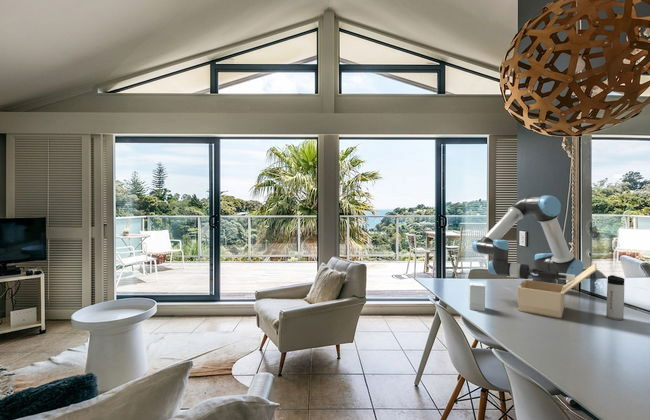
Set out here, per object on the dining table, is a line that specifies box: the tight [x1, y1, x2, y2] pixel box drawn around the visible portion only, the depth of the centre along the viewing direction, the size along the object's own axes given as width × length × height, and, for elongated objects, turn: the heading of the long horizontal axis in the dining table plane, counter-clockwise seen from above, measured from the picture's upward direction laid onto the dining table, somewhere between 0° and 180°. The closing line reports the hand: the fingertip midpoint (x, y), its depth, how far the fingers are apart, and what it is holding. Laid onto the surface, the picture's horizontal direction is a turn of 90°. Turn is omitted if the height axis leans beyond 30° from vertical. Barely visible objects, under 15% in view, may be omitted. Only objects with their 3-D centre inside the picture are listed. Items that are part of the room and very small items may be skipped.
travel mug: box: [605, 275, 625, 321], centre depth 164 cm, size 6×7×20 cm
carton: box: [516, 279, 566, 319], centre depth 177 cm, size 23×19×12 cm
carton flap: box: [562, 263, 598, 294], centre depth 167 cm, size 21×18×1 cm
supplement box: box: [468, 282, 486, 312], centre depth 177 cm, size 7×7×13 cm
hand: (574, 277), depth 167 cm, fingers closed
